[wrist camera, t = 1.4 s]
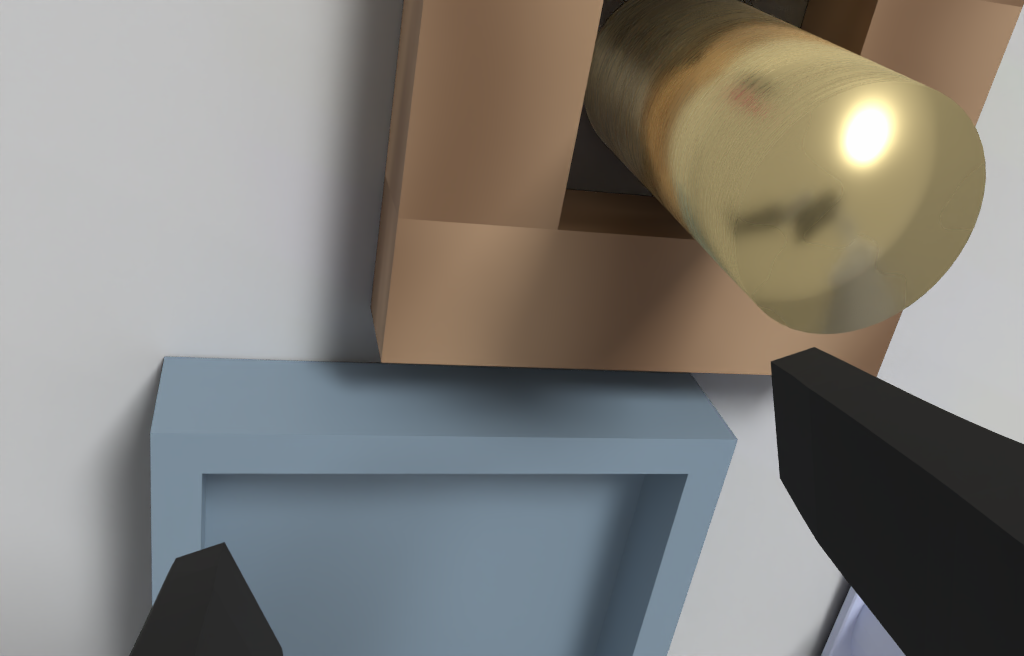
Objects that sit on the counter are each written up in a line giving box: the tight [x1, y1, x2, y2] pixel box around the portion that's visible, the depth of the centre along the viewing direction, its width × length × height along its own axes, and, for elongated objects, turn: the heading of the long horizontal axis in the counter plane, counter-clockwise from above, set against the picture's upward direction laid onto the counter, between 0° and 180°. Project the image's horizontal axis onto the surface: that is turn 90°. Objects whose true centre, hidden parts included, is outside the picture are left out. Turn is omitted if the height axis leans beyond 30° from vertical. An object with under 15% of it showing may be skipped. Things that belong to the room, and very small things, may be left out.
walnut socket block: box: [371, 0, 1024, 377], centre depth 20 cm, size 12×12×2 cm
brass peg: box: [584, 0, 986, 334], centre depth 18 cm, size 4×4×8 cm
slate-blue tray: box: [150, 357, 738, 656], centre depth 25 cm, size 13×13×3 cm
